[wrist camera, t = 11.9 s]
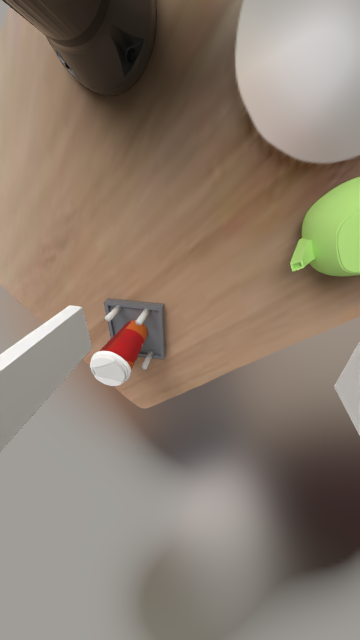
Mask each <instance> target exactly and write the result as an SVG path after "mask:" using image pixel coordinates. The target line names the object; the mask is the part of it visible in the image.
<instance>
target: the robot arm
mask: <svg viewBox="0 0 360 640" xmlns="http://www.w3.org/2000/svg"><path fill="white" fill-rule="evenodd" d="M3 1H4V2H5V3H6V4H8V5H9V6H10V7H11V8H12V9H14V10H15V11H16V12H17V13H19V14H20V15H21V16H22V17H24V18H25V19H26V20H27V21H29V22H30V23H31V24H32V25H34V26H35V27H36V28H37V29H38V30H40V31H41V32H42V33H43V34H44V35H45V36H46V38H47V39H48V41H49V43H50V44H51V46H52V48H53V49H54V50H55V52H56V54H57V56H58V57H59V59H60V61H61V62H62V64H63V65H64V66H65V68H66V69H67V70H68V71H69V73H70V74H71V75H72V76H73V77H74V78H75V79H76V80H77V81H79V82H80V83H81V84H83V85H84V86H85V87H87V88H88V89H90V90H91V91H93V92H95V93H98V94H101V95H107V96H112V95H117V94H120V93H122V92H124V91H126V90H128V89H129V88H130V87H131V86H133V85H134V84H135V82H136V81H137V80H138V79H139V78H140V76H141V74H142V73H143V71H144V69H145V67H146V65H147V63H148V60H149V58H150V55H151V51H152V47H153V43H154V38H155V30H156V1H155V0H3ZM91 349H92V345H91V341H90V336H89V332H88V328H87V324H86V319H85V315H84V311H83V307H78V306H70V305H69V306H68V307H67V308H65V309H64V310H62V311H61V312H60V313H58V314H57V315H55V316H54V317H52V318H51V319H50V320H48V321H47V322H45V323H44V324H43V325H41V326H40V327H38V328H37V329H36V330H34V331H33V332H31V333H30V334H28V335H27V336H26V337H24V338H23V339H21V340H20V341H19V342H17V343H16V344H14V345H13V346H12V347H10V348H9V349H7V350H6V351H4V352H3V353H2V354H0V452H1V451H2V450H3V449H4V447H5V446H6V445H7V444H8V443H9V442H10V441H11V439H12V438H13V437H14V436H15V435H16V434H17V433H18V432H19V430H20V429H21V428H22V427H23V426H24V425H25V424H26V423H27V421H28V420H29V419H30V418H31V417H32V416H33V415H34V414H35V412H36V411H37V410H38V409H39V408H40V407H41V406H42V404H43V403H44V402H45V401H46V400H47V399H48V398H49V397H50V395H51V394H52V393H53V392H54V391H55V390H56V389H57V387H58V386H59V385H60V384H61V383H62V382H63V381H64V380H65V378H66V377H67V376H68V375H69V374H70V373H71V372H72V371H73V369H74V368H75V367H76V366H77V365H78V364H79V363H80V362H81V360H82V359H83V358H84V357H85V356H86V355H87V354H88V353H89V351H90V350H91ZM334 388H335V389H336V391H337V393H338V395H339V397H340V399H341V401H342V403H343V405H344V407H345V409H346V411H347V412H348V414H349V416H350V418H351V420H352V422H353V424H354V426H355V428H356V430H357V431H358V433H359V435H360V342H359V343H358V345H357V347H356V348H355V350H354V352H353V354H352V355H351V357H350V359H349V361H348V362H347V364H346V366H345V368H344V369H343V371H342V373H341V375H340V377H339V379H338V380H337V382H336V384H335V386H334Z"/></svg>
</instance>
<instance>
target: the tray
mask: <svg viewBox="0 0 360 640" xmlns="http://www.w3.org/2000/svg"><path fill="white" fill-rule="evenodd" d="M104 305H105V310H106V317H105V320H106V321H107V322H108V326H109V331H110V336H111V339H112V338H113V336H114V335H115V334H116V333H117V332H118V331H119V330H120V329H121V328H122V327H123V326H124V325H125V324H126V323H127V322H129V321H131V320H136V324H137V325H142V323H143V324H144V325H145V326H146V328H147V330H148V334H147V337H146V340H145V342H144V344H143V346H142V348H141V350H140V352H139V355H138V356H143V357H146V358H145V360H144V362H143V364H142V366H141V369H143V370H146V369H147V367H148V365H149V363H150V361H151V359H152V358H157V359H164V358H165V356H166V344H165V319H164V304H159V303H149V302H138V301H128V300H117V299H107V300H106V301H105V302H104Z"/></svg>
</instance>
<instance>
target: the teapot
mask: <svg viewBox="0 0 360 640" xmlns="http://www.w3.org/2000/svg"><path fill="white" fill-rule="evenodd" d="M307 264H310V265H311V266H312V267H313V268H314V269H316V270H317V271H319V272H321V273H323V274H326V275H331V276H356V275H360V177H357V178H354V179H352V180H349V181H347V182H345V183H343V184H341V185H339V186H337V187H335V188H334V189H332V190H331V191H329V192H328V193H326V194H325V195H324V196H322V197H321V198H320V199H319V200H318V201H317V202H316V203H315V204H313V205H312V207H311V208H310V209H309V210H308V212H307V214H306V215H305V218H304V220H303V224H302V238H301V239H299V241H298V243H297V246H296V249H295V251H294V254H293V257H292V259H291V262H290V266H291V269H292V272H293V271H296V270H299V269H302V268H304V267H305V266H306V265H307Z"/></svg>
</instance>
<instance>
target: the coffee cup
mask: <svg viewBox="0 0 360 640" xmlns="http://www.w3.org/2000/svg"><path fill="white" fill-rule="evenodd" d="M147 334H148V330H147V328H146V326H145V325H144V324H143V323H142V325H137V324H136V320H131V321H129V322H127V323H126V324H125V325H124V326H123V327H122V328H121V329H120V330H119V331H118V332H117V333H116V334H115V335H114V336H113V338H112V339H111V340H110V341H109V342H108V343H107V344H106V345H105V346H104V347H103V348H102V349H101V350H100V351H99V352H96V353H95V354H94V355H93V356H92V358H91V363H90V368H91V371H92V373H93V374H94V375H95V378H96V379H97V380H99V381H100V382H102V383H104V384H106V385H109V386H118V385H121V384H122V383H123V382H125V381H127V380H128V379H129V377H130V374H131V369H132V367H133V365H134V363H135V361H136V359H137V357H138V355H139V352H140V350H141V348H142V346H143V344H144V342H145V340H146V337H147Z"/></svg>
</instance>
